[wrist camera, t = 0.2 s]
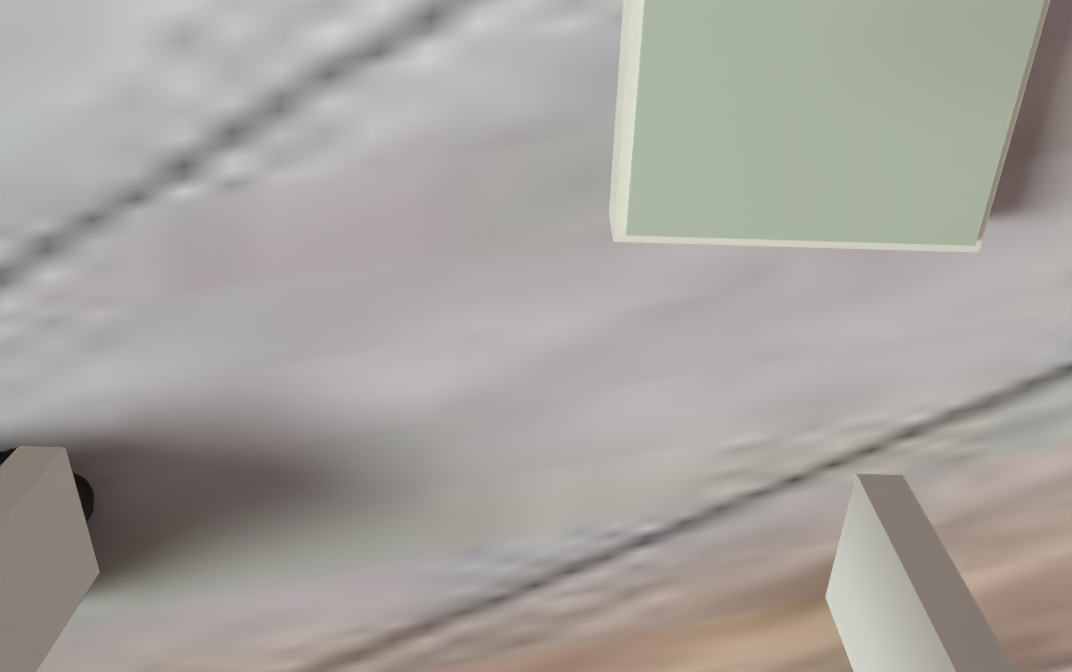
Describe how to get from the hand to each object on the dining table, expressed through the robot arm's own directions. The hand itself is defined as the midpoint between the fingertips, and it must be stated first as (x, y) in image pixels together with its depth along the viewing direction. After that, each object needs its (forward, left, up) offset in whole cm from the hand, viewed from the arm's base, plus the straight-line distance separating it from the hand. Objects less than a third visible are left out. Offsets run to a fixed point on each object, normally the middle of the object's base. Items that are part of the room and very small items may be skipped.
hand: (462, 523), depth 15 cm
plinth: (-4, +12, -28) cm, 30 cm away
